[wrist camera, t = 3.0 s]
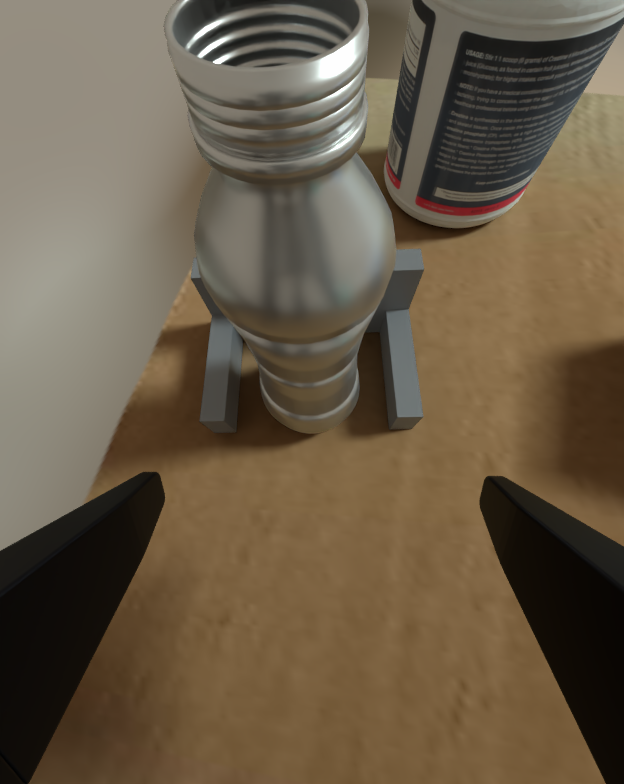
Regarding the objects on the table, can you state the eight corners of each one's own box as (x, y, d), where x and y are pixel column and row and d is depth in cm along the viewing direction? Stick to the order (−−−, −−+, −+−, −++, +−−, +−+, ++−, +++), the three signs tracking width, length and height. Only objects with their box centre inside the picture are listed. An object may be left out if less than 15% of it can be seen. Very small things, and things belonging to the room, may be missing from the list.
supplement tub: (544, 184, 31) (807, -220, 14) (461, 260, 28) (665, -129, 11) (436, 126, 35) (541, -251, 18) (353, 189, 32) (383, -187, 15)
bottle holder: (411, 428, 23) (444, 394, 17) (214, 432, 24) (172, 400, 17) (397, 314, 27) (420, 248, 20) (225, 320, 27) (193, 257, 21)
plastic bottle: (291, 346, 26) (203, -84, 7) (370, 380, 25) (505, -40, 6) (251, 416, 24) (-8, 71, 5) (334, 457, 23) (369, 186, 4)
